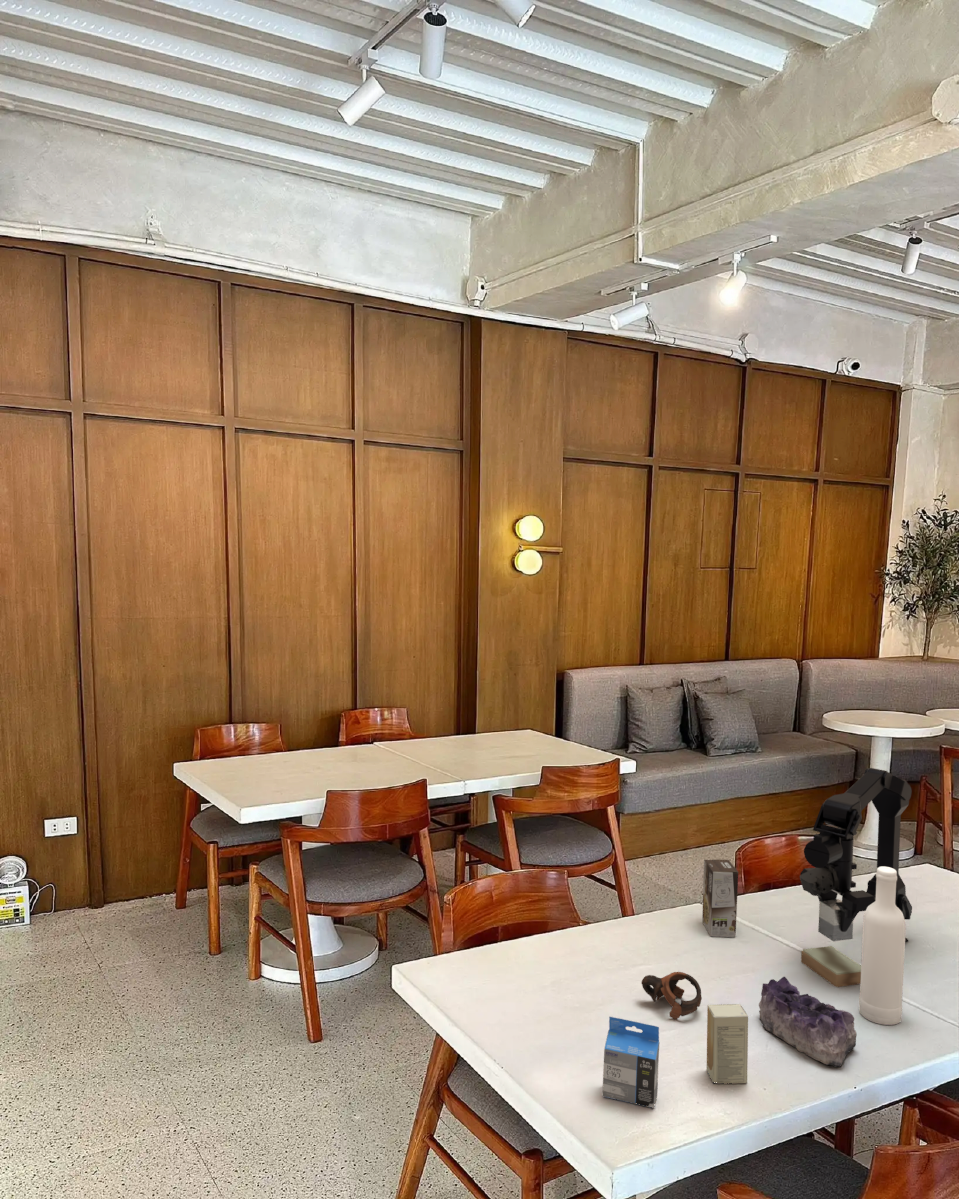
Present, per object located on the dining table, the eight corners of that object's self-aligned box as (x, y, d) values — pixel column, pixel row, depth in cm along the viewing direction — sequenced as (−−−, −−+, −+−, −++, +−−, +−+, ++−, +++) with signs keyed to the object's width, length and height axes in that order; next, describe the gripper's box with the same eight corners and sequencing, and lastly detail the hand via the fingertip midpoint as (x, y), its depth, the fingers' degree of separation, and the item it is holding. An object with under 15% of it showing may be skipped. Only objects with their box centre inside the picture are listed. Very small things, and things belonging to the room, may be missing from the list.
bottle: (883, 1029, 173) (890, 878, 171) (849, 1010, 180) (856, 865, 178) (910, 1020, 176) (917, 872, 175) (876, 1002, 183) (883, 860, 182)
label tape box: (601, 1097, 149) (603, 1026, 149) (606, 1084, 153) (608, 1015, 152) (653, 1110, 146) (656, 1037, 145) (658, 1096, 150) (660, 1025, 149)
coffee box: (736, 937, 213) (739, 872, 212) (710, 937, 213) (712, 871, 212) (727, 922, 222) (729, 858, 221) (701, 921, 222) (703, 858, 221)
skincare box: (739, 1069, 158) (742, 1003, 157) (747, 1084, 154) (750, 1016, 153) (704, 1069, 158) (706, 1003, 157) (711, 1084, 154) (713, 1016, 153)
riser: (830, 958, 203) (831, 945, 203) (867, 983, 192) (868, 969, 191) (801, 962, 201) (801, 949, 201) (836, 987, 189) (836, 973, 189)
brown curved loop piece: (695, 999, 184) (707, 975, 180) (691, 1039, 176) (703, 1015, 172) (639, 978, 186) (649, 954, 182) (632, 1017, 178) (643, 993, 174)
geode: (738, 1026, 173) (742, 974, 174) (775, 1017, 180) (779, 967, 180) (831, 1073, 157) (836, 1016, 157) (868, 1062, 163) (872, 1007, 164)
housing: (818, 931, 197) (819, 899, 197) (837, 929, 199) (838, 897, 198) (833, 941, 193) (834, 908, 192) (852, 938, 194) (853, 906, 194)
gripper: (781, 846, 202) (778, 913, 202) (835, 875, 184) (832, 948, 184) (823, 842, 205) (820, 908, 205) (880, 871, 187) (877, 943, 188)
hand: (835, 926), depth 196 cm, fingers closed on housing, 5 cm apart
